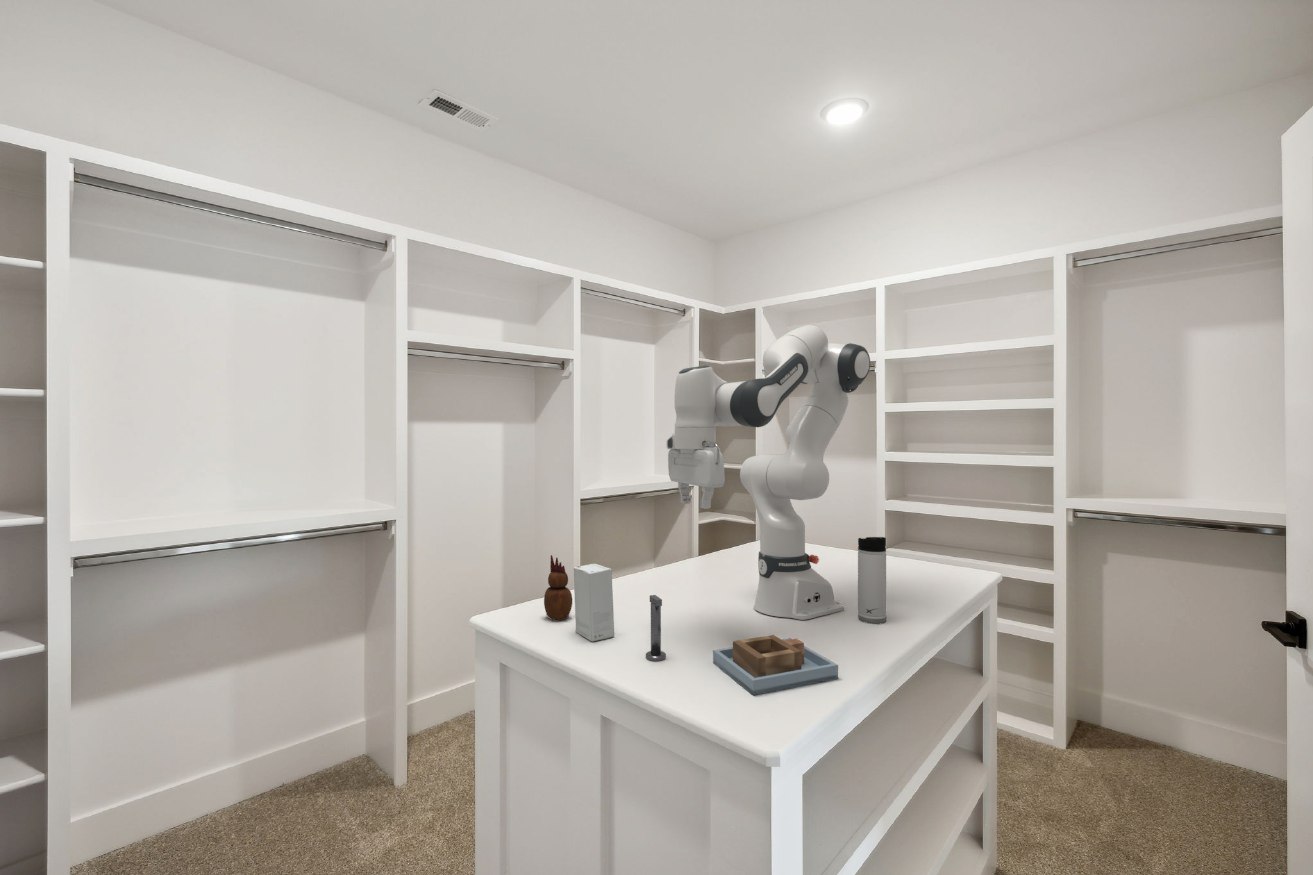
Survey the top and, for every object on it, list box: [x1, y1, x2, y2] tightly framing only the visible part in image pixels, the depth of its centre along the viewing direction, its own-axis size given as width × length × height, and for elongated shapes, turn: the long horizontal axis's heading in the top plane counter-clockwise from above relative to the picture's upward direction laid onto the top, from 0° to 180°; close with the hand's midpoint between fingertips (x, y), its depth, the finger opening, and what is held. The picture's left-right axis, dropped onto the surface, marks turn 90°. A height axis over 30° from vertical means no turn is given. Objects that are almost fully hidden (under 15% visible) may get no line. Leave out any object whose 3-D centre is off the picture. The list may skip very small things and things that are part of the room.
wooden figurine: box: [543, 554, 573, 621], centre depth 135 cm, size 7×6×15 cm
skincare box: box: [573, 563, 615, 642], centre depth 124 cm, size 8×6×15 cm
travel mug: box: [857, 536, 887, 625], centre depth 133 cm, size 6×7×20 cm
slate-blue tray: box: [712, 637, 839, 696], centre depth 105 cm, size 18×15×2 cm
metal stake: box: [645, 594, 667, 662], centre depth 111 cm, size 4×4×12 cm
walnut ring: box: [732, 634, 805, 678], centre depth 105 cm, size 12×9×4 cm
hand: (695, 505), depth 121 cm, fingers open, 8 cm apart
